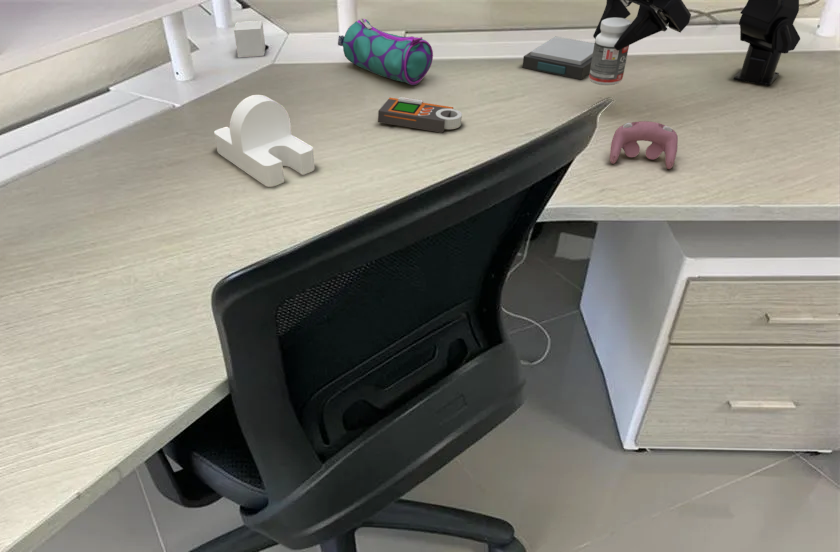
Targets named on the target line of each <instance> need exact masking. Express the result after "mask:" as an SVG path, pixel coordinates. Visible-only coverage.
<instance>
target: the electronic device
mask: <svg viewBox="0 0 840 552" xmlns="http://www.w3.org/2000/svg"><path fill="white" fill-rule="evenodd" d="M462 118H463V113H462V111H460V110H458V109H455V108H454V106H449V105H441V104H436V103H435V104H434V103H427V102H424V100H422V99H417V98H411V97H404V96H399V98H397V97H389V98H388V99H387V100H386V101H385V102H384V103H383V104H382V105H381V107H380V109H379V110H378V111H377V123H382V124H386V125H387V124H388V125H393V126H399V127H405V128H411V129H418V130H424V131H429V132H435V133H444V132H445V130H454V129H459V128H460V127H461V125H462Z"/></svg>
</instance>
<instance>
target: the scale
mask: <svg viewBox="0 0 840 552" xmlns="http://www.w3.org/2000/svg"><path fill="white" fill-rule="evenodd" d="M594 43H595V42H592V41H591V42H590V41H585V40H580V39H573V38H568V37H562V36H556V35H554V36H552V38H550V39H548V40H547V41H545V42H544V43H542V44H541V45H539V46H537V47H536V48H534V49H532V50H531V51H530V52H528V53H527V54H524V55H523V58H522V66H521V67H522V68H523V69H526V70H531V71H532V70H533V71H537V72H542V73H547V74H552V75H557V76H561V77H567V78H570V79H576V80H580V81H581V80H583V79H584V78H585V77H587V76H589V74H590V68H591V62H592V56H593V50H594Z"/></svg>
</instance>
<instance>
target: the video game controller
mask: <svg viewBox="0 0 840 552" xmlns="http://www.w3.org/2000/svg"><path fill="white" fill-rule="evenodd" d="M640 141H641V142H642V141H643V142H651V144H649V145H648V146H647V148H646V149H645V157H646V158H647V159H648V160H652V161H653V160H657V158H659V157H660V155H661V154H662V153H664V156H665V157H664V158H665V161H664V162H665V168H666V169H667V170H671V169H673V166H674V165H675V161H676V158H677V154H678V144H679V143H678V141H679V138H678V134H677V132H676V131H675V130H674V129H673V128H672V127H671V126H669V125H666V124H663V123H660V122H656V121H649V120H647V121H646V120H644V121H643V120H642V121H639V120H638V121H633V122H626V123H624V124H622V125H620V126H619V127H617V129H616V130H615V132H614V133H613V136H612V139H611V144H610V149H609V150H610V151H609V161H610V163H611V164H612V165H614V164H616V162H617V161H618V160H619V158H620V154H621V150H623V152H624V154H625V156H626V157H628V158H635V157H637V156H638V155H639V154H640V152H641V148H640V145H639V143H638V142H640Z"/></svg>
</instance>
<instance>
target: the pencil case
mask: <svg viewBox="0 0 840 552" xmlns="http://www.w3.org/2000/svg"><path fill="white" fill-rule="evenodd" d="M337 45H338V46H340V47H342V50H343V51H342V52H343V55H344V56H345V58H346V59H347V60H348V61H349V62H350V63H352V64H353V65H356V66H357V67H359V68H361V69H364V70H366V71H369V72H370V73H373V74H375V75H378V76H381V77H384V78H387V79H389V80H393V81H396V82H401V83H406V84H408V85H411V86H416V85H419V84H420V82H422V81H423V79H424V78H425V77H426V75H427V73H428V72H429V70H430V69H431V67H432V64H433V59H434V51H433V48H432V46H431V44H430V43H429V41H427V40H426V39H423V37H422V36H421V37H415V36H404V35H403V36H402V35H397V34H393V33H388V32H385V31H382V30H380V29H378V28H376V27H375V26H373V25H371V23H370V21H369V19H365V18H363V17H361V18H360V19H358V20H356V21H354V22H353V23H352V24H350V25H349V26H348V28H347V30H346V31H345V34H344V35H338V40H337Z"/></svg>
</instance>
